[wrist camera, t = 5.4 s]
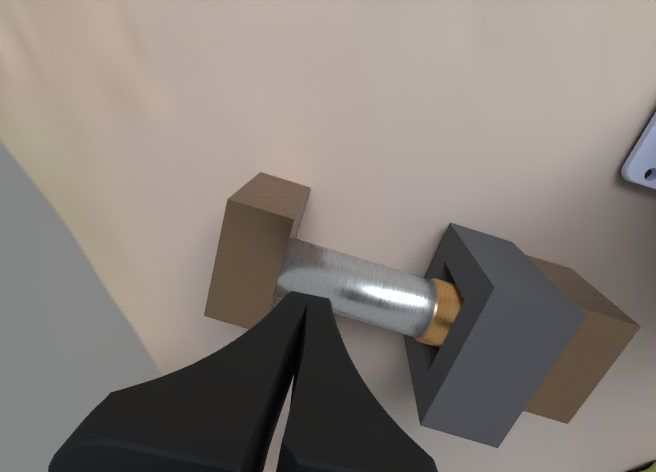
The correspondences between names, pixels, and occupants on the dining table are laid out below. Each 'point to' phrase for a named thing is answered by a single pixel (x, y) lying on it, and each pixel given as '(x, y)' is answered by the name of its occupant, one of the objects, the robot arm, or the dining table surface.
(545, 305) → the gray square nut
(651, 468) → the plant pot
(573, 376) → the brown dumbbell
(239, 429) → the robot arm
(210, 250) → the dining table surface
